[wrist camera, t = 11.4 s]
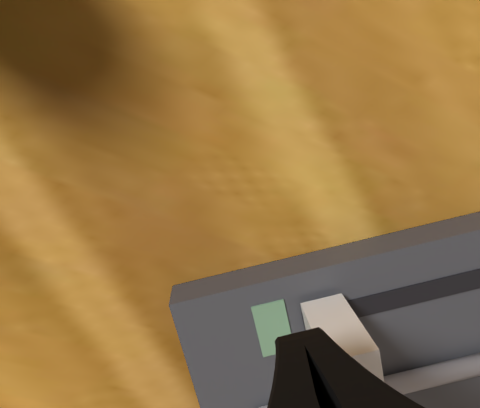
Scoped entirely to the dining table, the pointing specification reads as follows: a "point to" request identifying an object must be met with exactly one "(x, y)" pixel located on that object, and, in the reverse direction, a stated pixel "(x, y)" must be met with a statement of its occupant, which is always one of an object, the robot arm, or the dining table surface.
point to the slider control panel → (362, 303)
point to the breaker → (343, 330)
